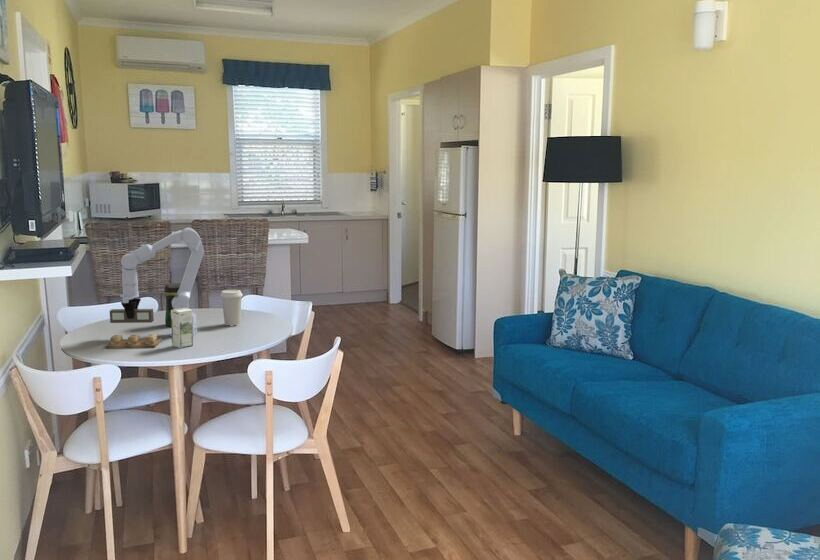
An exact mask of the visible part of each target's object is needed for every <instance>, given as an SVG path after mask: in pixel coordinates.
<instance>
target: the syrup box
mask: <svg viewBox="0 0 820 560" xmlns="http://www.w3.org/2000/svg"><path fill="white" fill-rule="evenodd" d="M192 313H193V310H192V309H191V308H189V309H188V308H180V309H174V310H171V326H170V327H171V333H172V336H171V346H172V347H175V348H179V349H183V348H187V347H188V346H189V347H192V346H194V337H193V336H194V335H193V328H192Z"/></svg>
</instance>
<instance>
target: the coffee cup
mask: <svg viewBox="0 0 820 560" xmlns="http://www.w3.org/2000/svg"><path fill="white" fill-rule="evenodd" d="M243 295H244V294H243V293H242V291H241V290H240V289H226V290H222V291H221V294H220V296H219V297H220V298H221V305H222V312H223V313H222V314H223V320H224V326H225V325H237V324H240V325H241V318H242V317H241V315H242V299H243Z"/></svg>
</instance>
